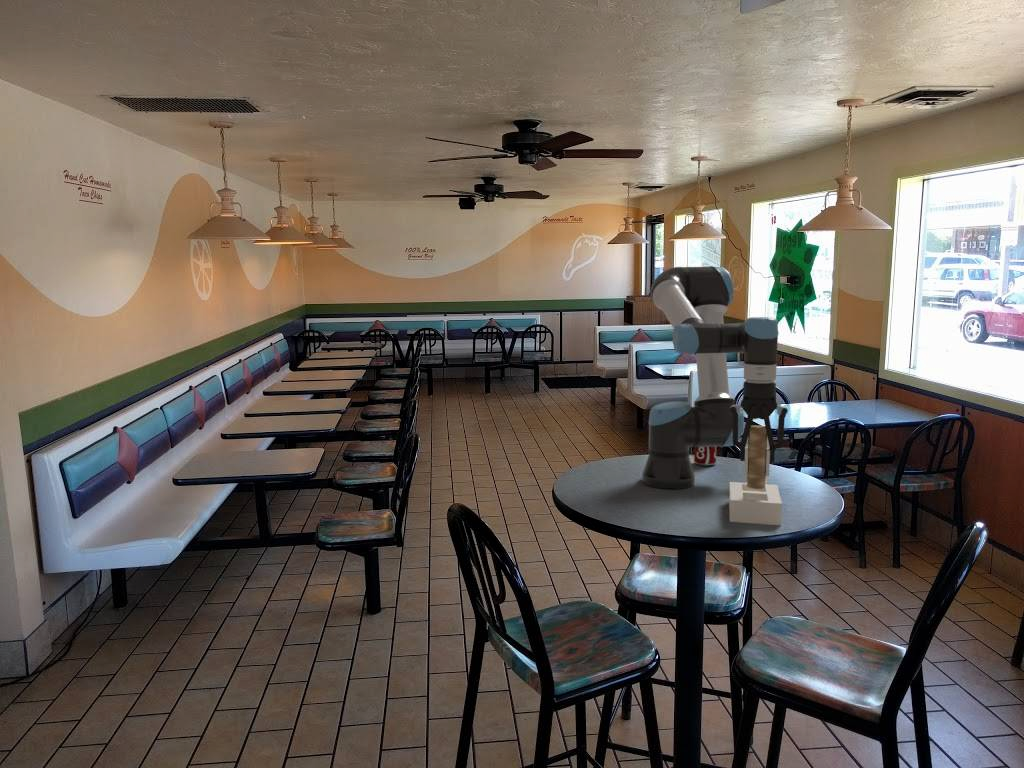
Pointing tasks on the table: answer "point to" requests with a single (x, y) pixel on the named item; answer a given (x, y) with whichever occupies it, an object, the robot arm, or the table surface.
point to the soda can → (705, 456)
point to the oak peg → (757, 457)
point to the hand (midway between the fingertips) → (756, 474)
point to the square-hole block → (755, 504)
